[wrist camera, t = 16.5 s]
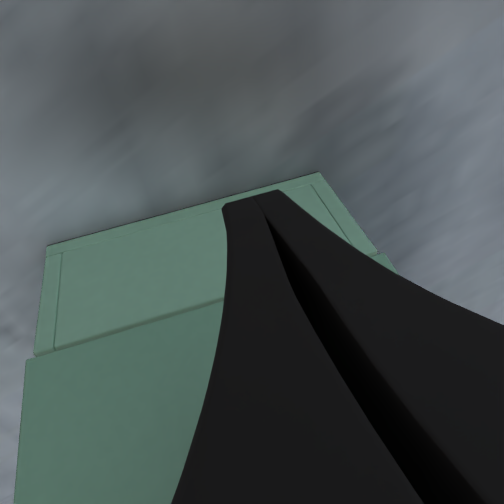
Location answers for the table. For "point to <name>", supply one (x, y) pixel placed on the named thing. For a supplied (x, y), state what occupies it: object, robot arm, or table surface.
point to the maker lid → (117, 412)
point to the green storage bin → (158, 266)
